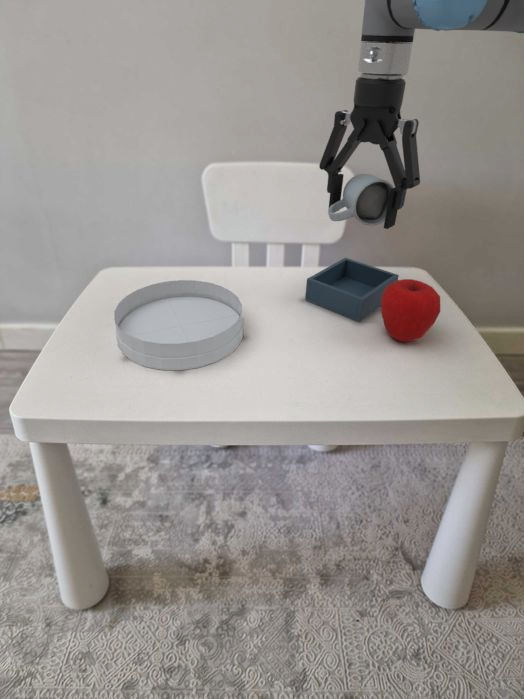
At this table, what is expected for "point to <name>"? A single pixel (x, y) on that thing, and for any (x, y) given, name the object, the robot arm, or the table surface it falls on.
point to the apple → (409, 309)
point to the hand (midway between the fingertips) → (360, 218)
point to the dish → (179, 324)
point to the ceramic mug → (363, 200)
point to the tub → (349, 288)
